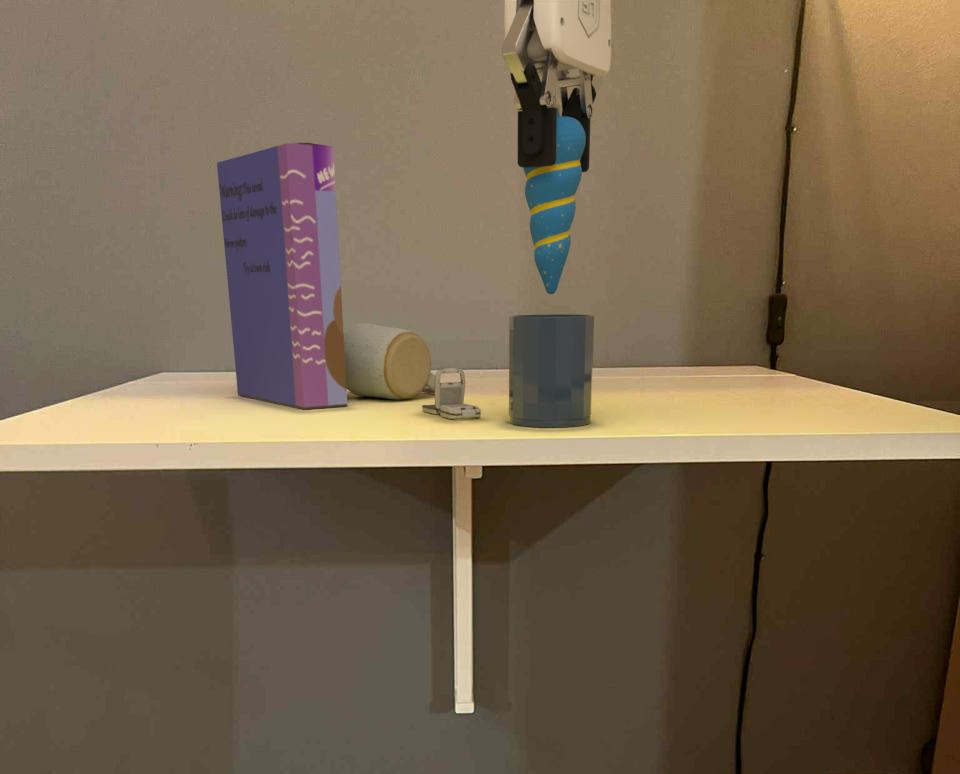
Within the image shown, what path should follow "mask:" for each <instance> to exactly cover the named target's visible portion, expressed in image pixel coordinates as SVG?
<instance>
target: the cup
mask: <svg viewBox="0 0 960 774" xmlns="http://www.w3.org/2000/svg"><path fill="white" fill-rule="evenodd" d="M594 336H595V315H593V314H577V313H576V314H567V313H565V314H564V313H563V314H562V313H561V314H558V313H557V314H556V313H555V314H554V313H553V314H545V313H544V314H514V315H513V314H512V315H509V316H508V361H509V362H508V417H509V423H510V424H511V425H515V426H518V427H519V426H520V427H527V428H528V427H529V428H546V429H547V428H548V429H549V428H553V429H554V428H555V429H556V428H572V427H581V426H586V425H589V424H590V423H591V422H592V409H593V408H592V406H593V405H592V404H593V403H592V401H593V375H594V374H593V373H594V372H593V371H594V339H595V337H594Z"/></svg>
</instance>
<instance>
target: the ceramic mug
mask: <svg viewBox="0 0 960 774" xmlns="http://www.w3.org/2000/svg"><path fill="white" fill-rule="evenodd" d="M343 334H344V352H345V371H346V389H347V391H348V392H350V393H352V394H353V395H356V396H359V397H369V398H377V399H387V400H395V401H399V400H401V401H402V400H407V399H412V398H415V397H416V396H418V395H419V394H420V393H424V394H429V395H430V394H431V395H432V394H434V395H435V386H434V383H435V377H436V374H434V373H432V357H431V352H430V349H429V347H428V344H427V343H426V341H425V340H424V339H423V338H422V337H421V336H420V335H418V334H416V333H415V332H414V331H413V332H412V331H410V330H408V329H404V328H398V327H391V326H385V325H378V324H374V323H369V322H360V323H356V324H354V325H352V326H350V327H349V328H348V329H347V330H346V331H344V332H343Z"/></svg>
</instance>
